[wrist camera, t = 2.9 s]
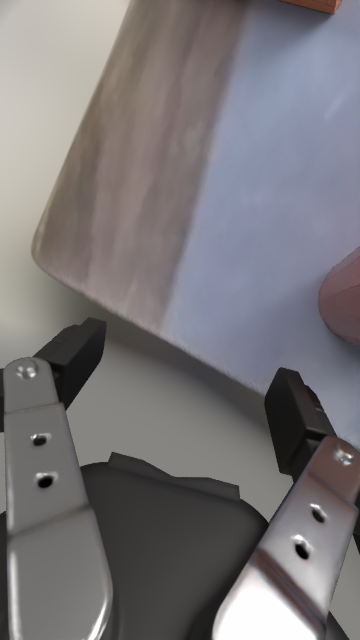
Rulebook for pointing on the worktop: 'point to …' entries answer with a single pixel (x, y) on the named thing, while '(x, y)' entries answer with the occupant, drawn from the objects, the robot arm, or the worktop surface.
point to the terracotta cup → (342, 298)
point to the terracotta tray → (318, 4)
